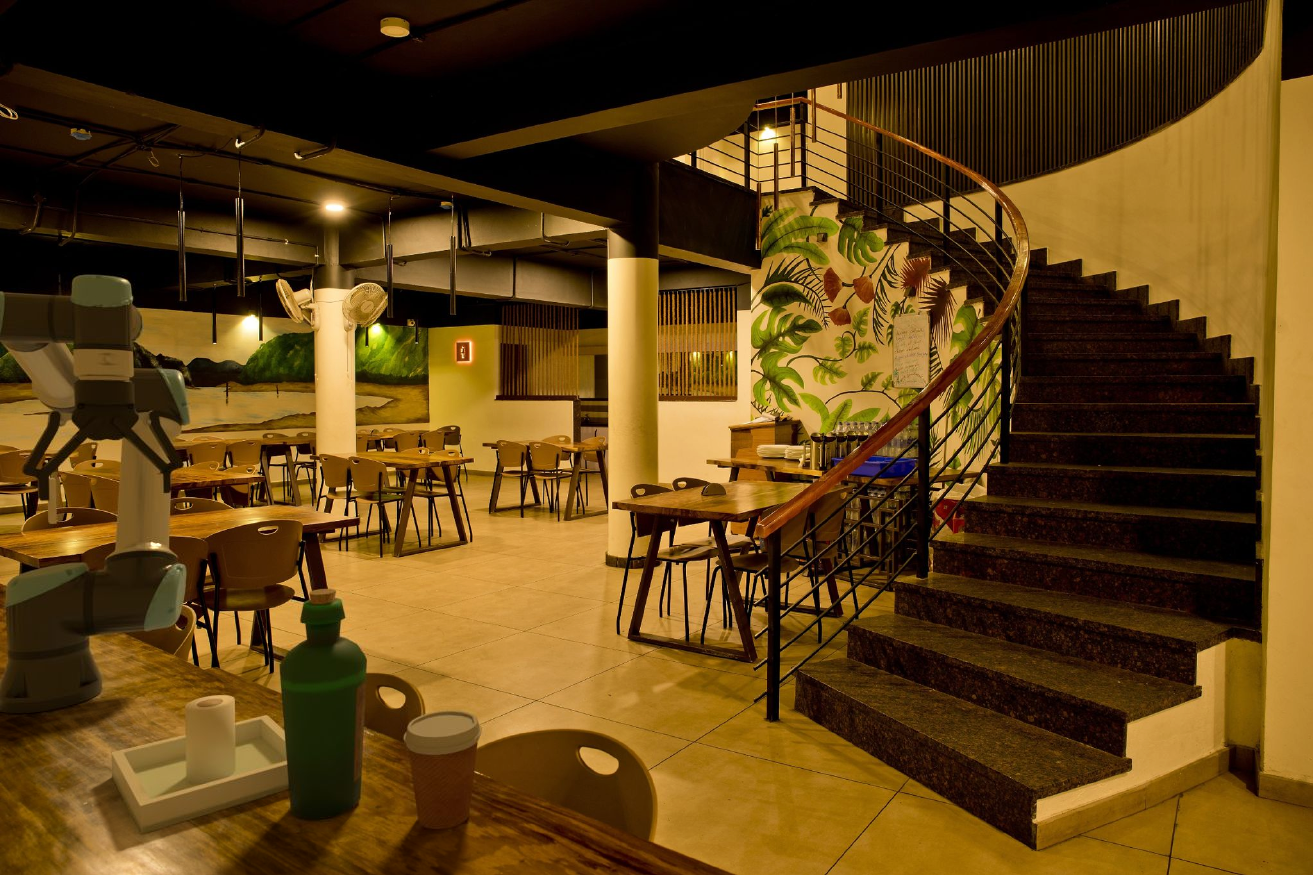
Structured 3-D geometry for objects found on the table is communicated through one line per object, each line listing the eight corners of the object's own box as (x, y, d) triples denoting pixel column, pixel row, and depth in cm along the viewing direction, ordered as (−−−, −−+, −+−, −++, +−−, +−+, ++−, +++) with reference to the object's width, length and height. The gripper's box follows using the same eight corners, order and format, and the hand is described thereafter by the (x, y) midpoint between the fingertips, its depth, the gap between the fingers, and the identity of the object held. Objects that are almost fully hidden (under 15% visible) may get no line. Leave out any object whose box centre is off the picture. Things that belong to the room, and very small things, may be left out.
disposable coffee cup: (462, 840, 96) (461, 741, 95) (389, 832, 98) (388, 735, 97) (494, 802, 105) (493, 711, 105) (427, 795, 107) (426, 706, 107)
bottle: (386, 793, 108) (383, 586, 107) (329, 832, 98) (326, 604, 97) (322, 781, 111) (319, 580, 110) (261, 818, 101) (257, 597, 100)
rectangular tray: (112, 777, 112) (111, 752, 112) (267, 736, 126) (266, 714, 126) (140, 834, 97) (140, 805, 97) (313, 781, 111) (313, 756, 111)
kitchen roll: (181, 773, 112) (180, 702, 111) (228, 760, 116) (227, 691, 115) (192, 788, 107) (191, 714, 107) (241, 774, 111) (240, 703, 111)
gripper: (0, 376, 111) (4, 529, 112) (202, 380, 128) (205, 513, 128) (-4, 377, 116) (1, 523, 117) (191, 381, 133) (193, 509, 134)
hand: (108, 518), depth 123 cm, fingers open, 13 cm apart
